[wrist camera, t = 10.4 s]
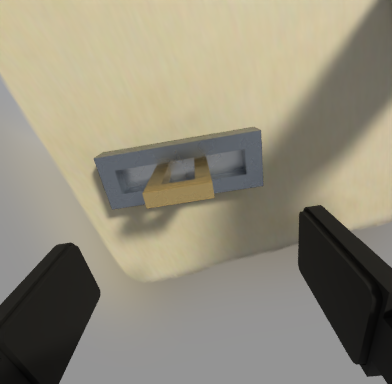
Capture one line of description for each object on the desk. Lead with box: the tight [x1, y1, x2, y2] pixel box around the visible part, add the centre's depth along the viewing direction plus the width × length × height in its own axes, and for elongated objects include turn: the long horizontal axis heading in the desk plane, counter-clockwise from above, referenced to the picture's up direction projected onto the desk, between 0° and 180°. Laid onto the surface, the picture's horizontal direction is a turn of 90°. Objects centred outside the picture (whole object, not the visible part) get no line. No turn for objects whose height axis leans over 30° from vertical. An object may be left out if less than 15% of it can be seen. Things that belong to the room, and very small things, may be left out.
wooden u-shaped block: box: [142, 157, 215, 209], centre depth 24 cm, size 7×2×9 cm, turn 99°
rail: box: [94, 127, 263, 209], centre depth 28 cm, size 20×7×3 cm, turn 99°
